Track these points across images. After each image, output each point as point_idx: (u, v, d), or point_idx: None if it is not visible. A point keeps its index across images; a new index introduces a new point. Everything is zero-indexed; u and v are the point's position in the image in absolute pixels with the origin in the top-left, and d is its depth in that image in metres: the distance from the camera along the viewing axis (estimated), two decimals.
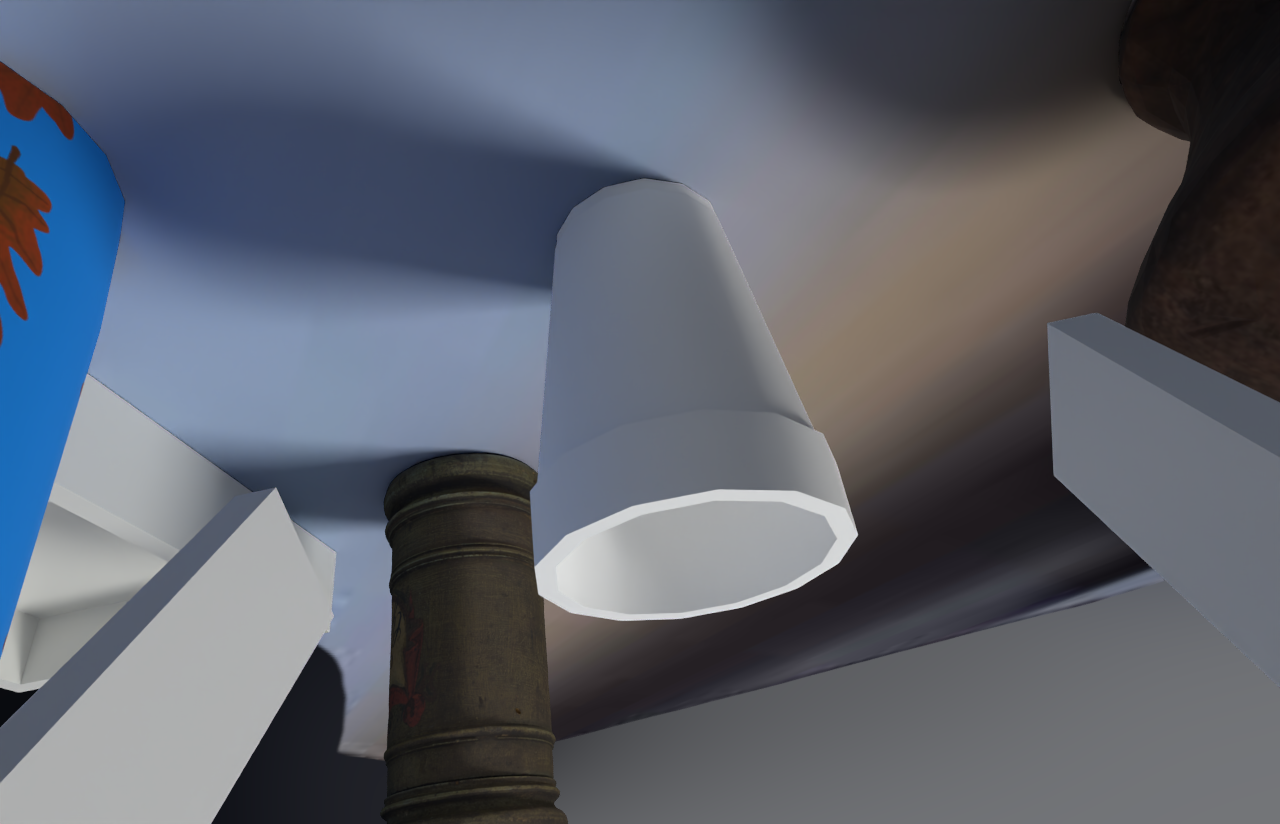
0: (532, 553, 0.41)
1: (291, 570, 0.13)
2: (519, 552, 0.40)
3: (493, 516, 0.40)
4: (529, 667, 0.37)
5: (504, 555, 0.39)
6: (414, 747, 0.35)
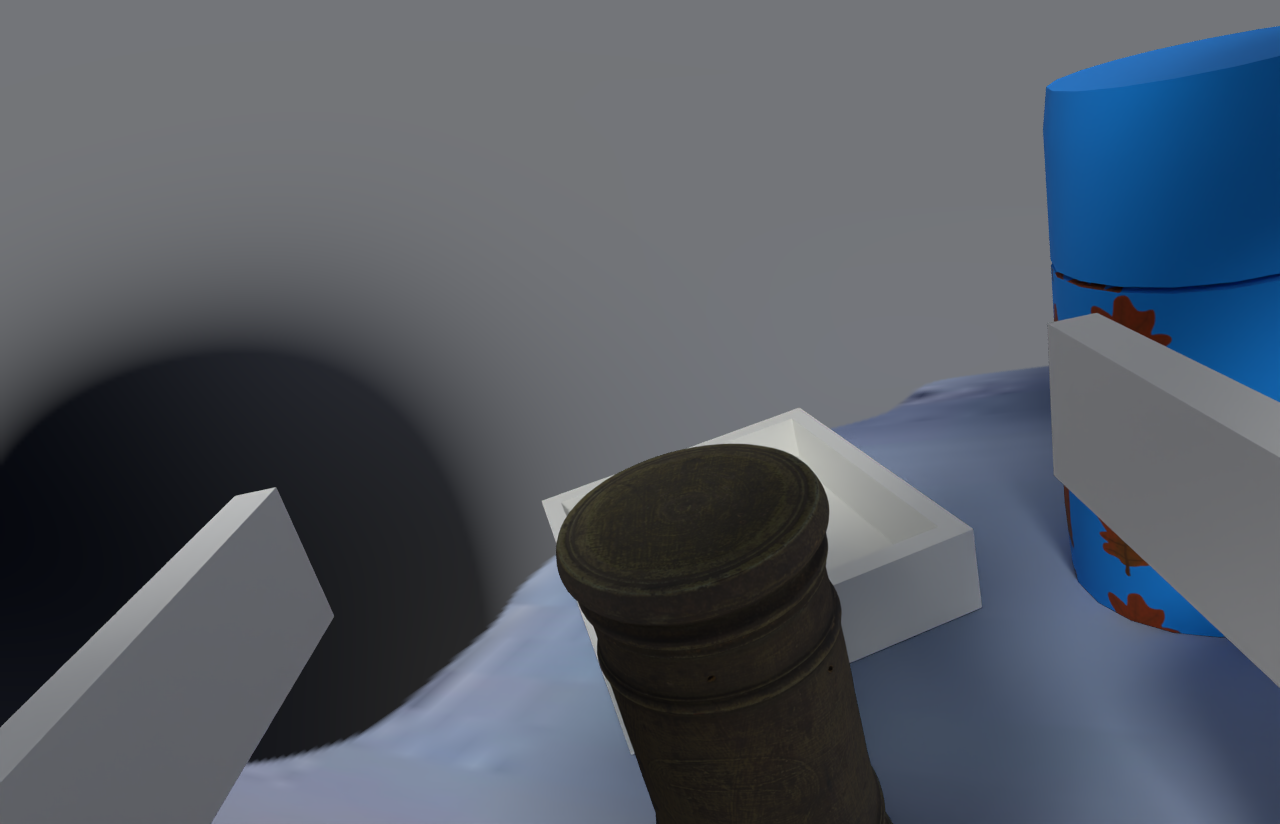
0: None
1: (291, 570, 0.13)
2: None
3: None
4: (827, 739, 0.24)
5: None
6: None
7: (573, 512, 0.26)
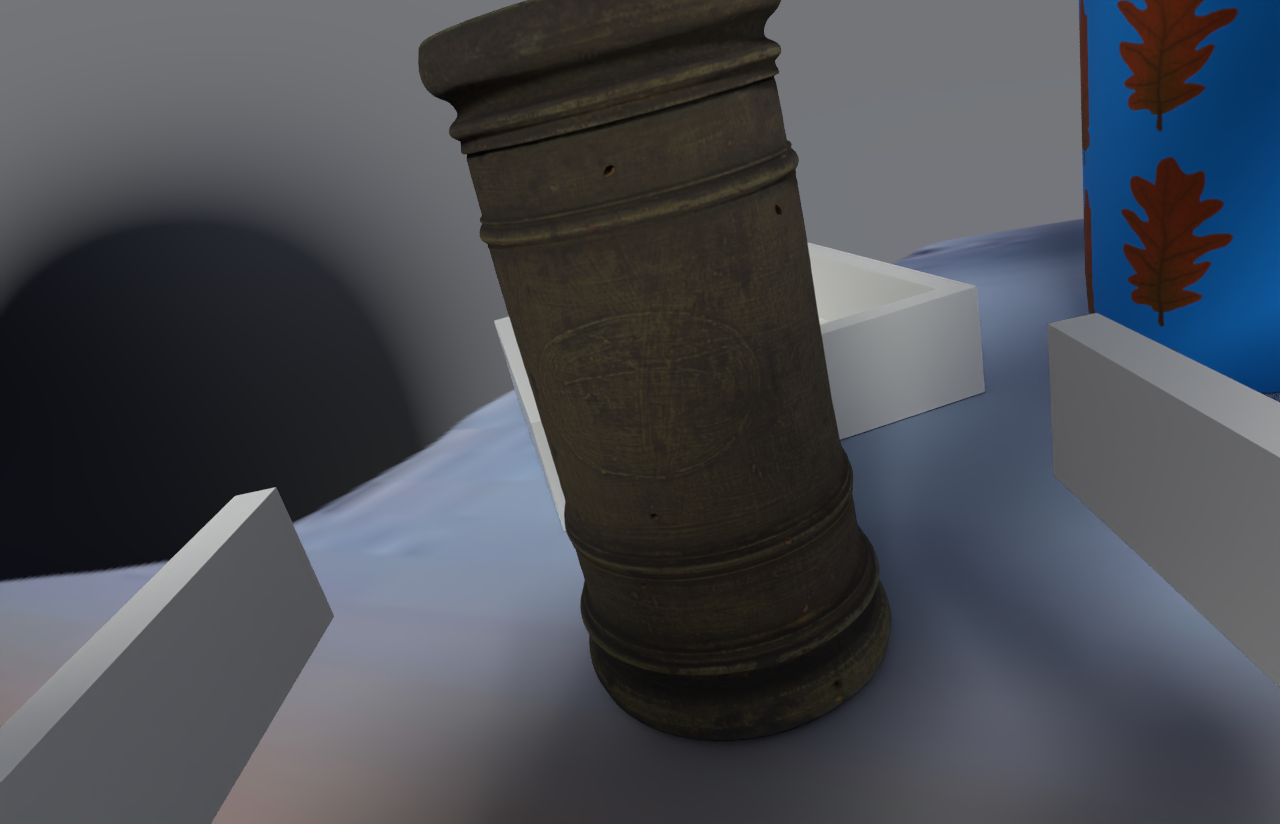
0: (801, 546, 0.19)
1: (291, 570, 0.13)
2: (831, 517, 0.20)
3: (856, 546, 0.21)
4: (772, 311, 0.18)
5: (841, 491, 0.20)
6: None
7: None
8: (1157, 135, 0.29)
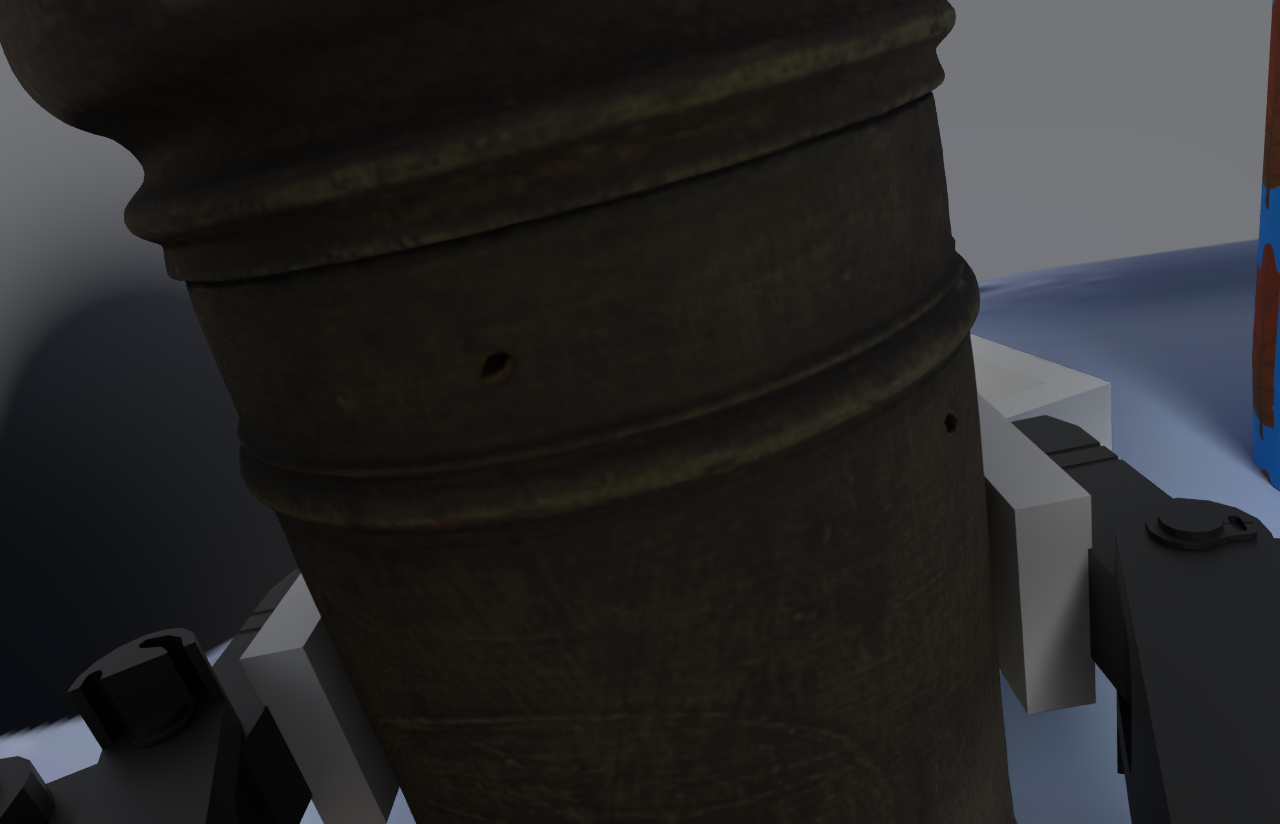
0: None
1: None
2: None
3: None
4: (931, 668, 0.07)
5: None
6: None
7: None
8: None
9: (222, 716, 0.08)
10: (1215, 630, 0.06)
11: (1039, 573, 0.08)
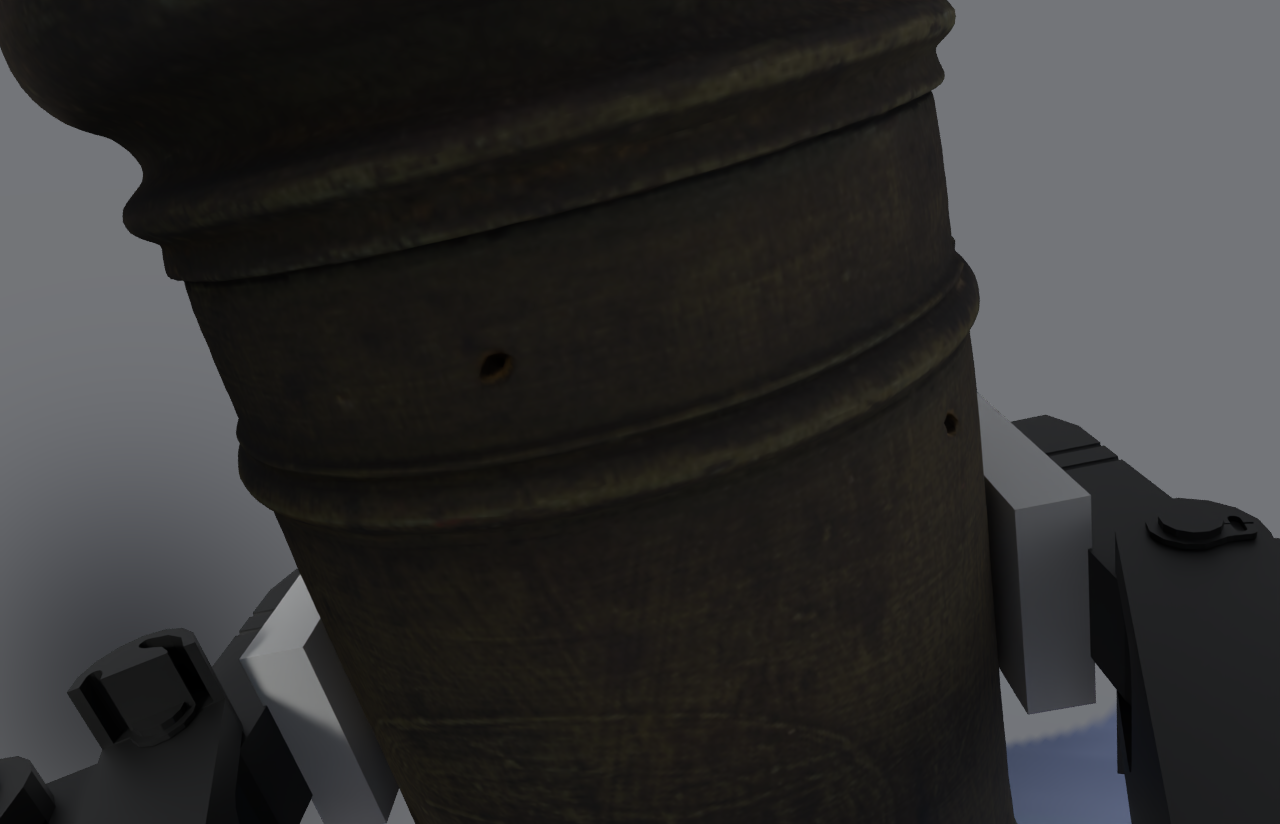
0: None
1: None
2: None
3: None
4: (929, 668, 0.07)
5: None
6: None
7: None
8: None
9: (222, 716, 0.08)
10: (1215, 630, 0.06)
11: (1039, 573, 0.08)
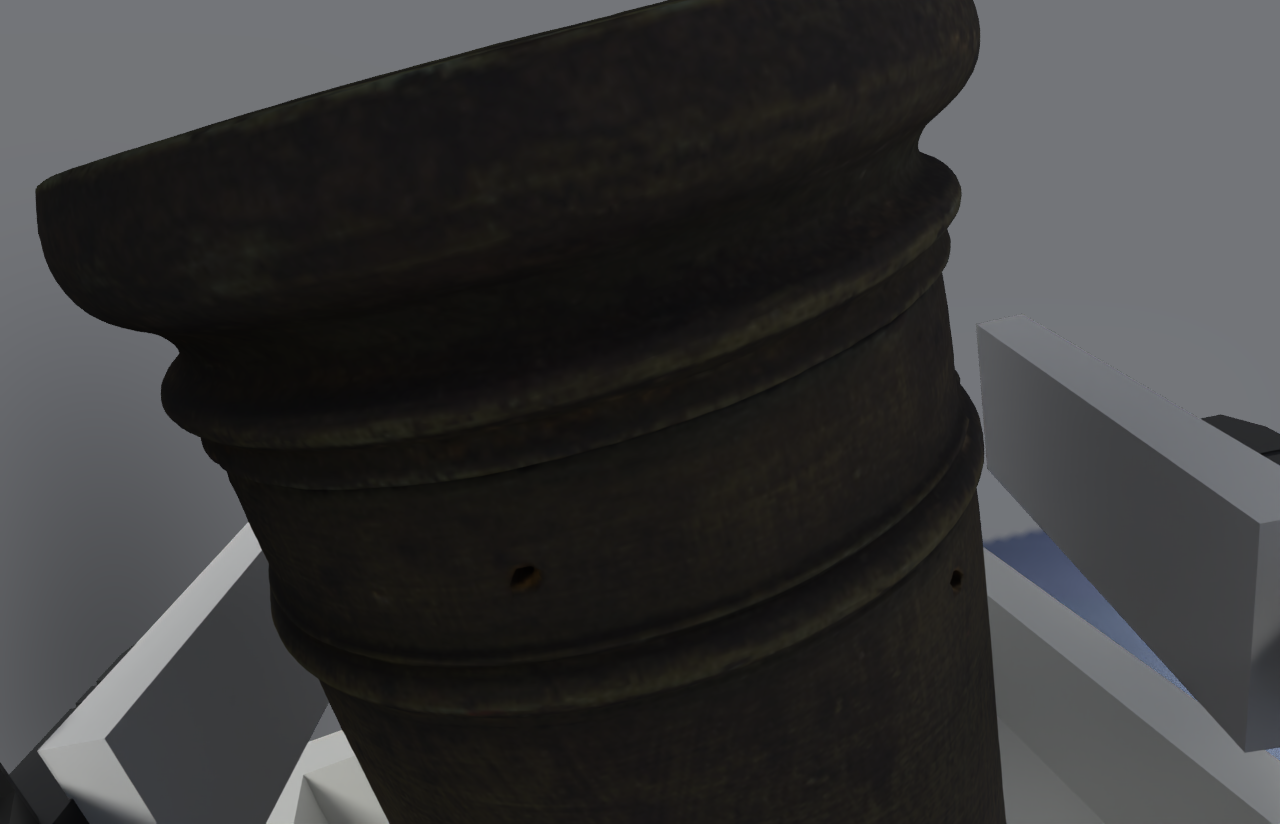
0: None
1: None
2: None
3: None
4: (936, 807, 0.07)
5: None
6: None
7: None
8: None
9: (11, 810, 0.08)
10: None
11: (1278, 595, 0.07)
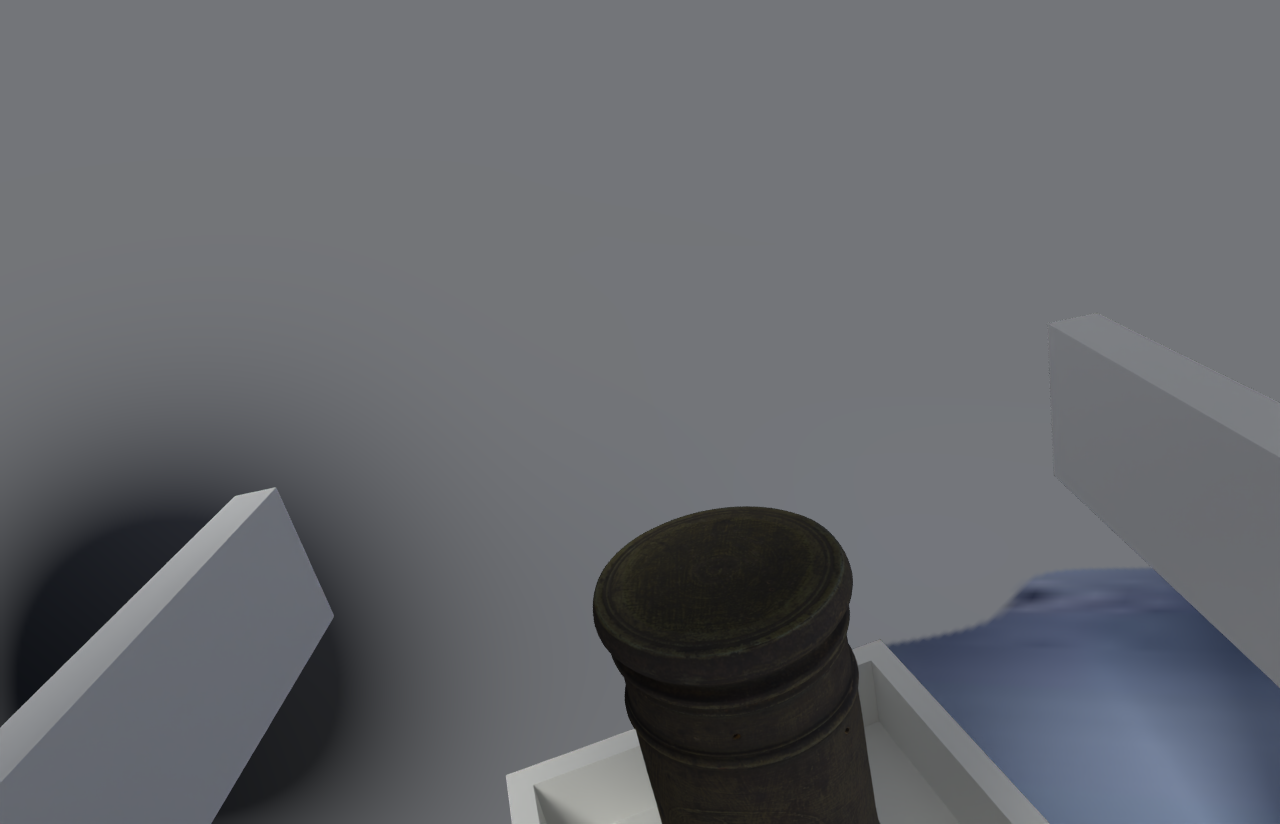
0: None
1: (291, 570, 0.13)
2: None
3: None
4: (841, 797, 0.25)
5: None
6: None
7: (608, 567, 0.27)
8: None
9: None
10: None
11: None
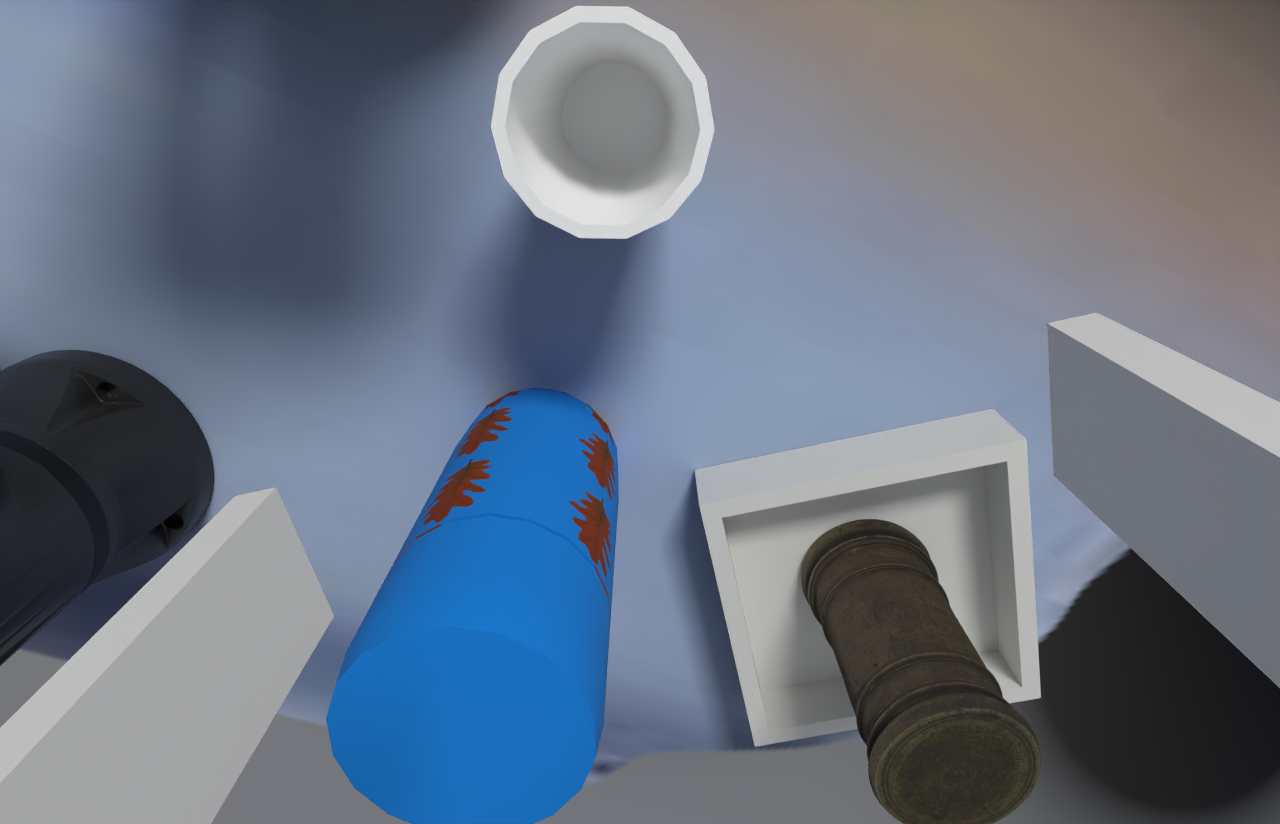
0: (858, 568, 0.50)
1: (291, 570, 0.13)
2: (843, 578, 0.50)
3: (824, 578, 0.52)
4: (877, 632, 0.45)
5: (836, 589, 0.50)
6: (867, 743, 0.44)
7: (1024, 796, 0.40)
8: (603, 498, 0.44)
9: None
10: None
11: None
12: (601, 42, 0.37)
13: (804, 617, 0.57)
